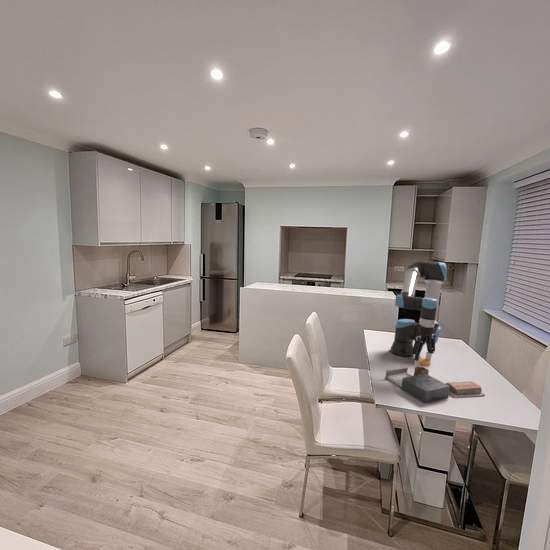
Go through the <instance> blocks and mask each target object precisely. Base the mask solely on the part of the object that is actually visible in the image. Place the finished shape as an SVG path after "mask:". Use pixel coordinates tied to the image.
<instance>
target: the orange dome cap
mask: <svg viewBox="0 0 550 550" xmlns="http://www.w3.org/2000/svg"><path fill="white" fill-rule="evenodd" d="M431 363H432V362H431V361H430V360H428V359H426V357H425V358H424V357H420V364H419V366H422V367H430V366H431Z"/></svg>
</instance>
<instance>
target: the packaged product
mask: <svg viewBox="0 0 550 550" xmlns="http://www.w3.org/2000/svg"><path fill="white" fill-rule="evenodd" d="M445 384H447V385H449V386H450V390H449V396H451V398H454V399H457V398H474V397H485V396H486V394H484V393H483V392H482V387H481V385H480V384H478V383H476V382H474V381H452V382H448V381H447V382H446V383H445Z"/></svg>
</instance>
